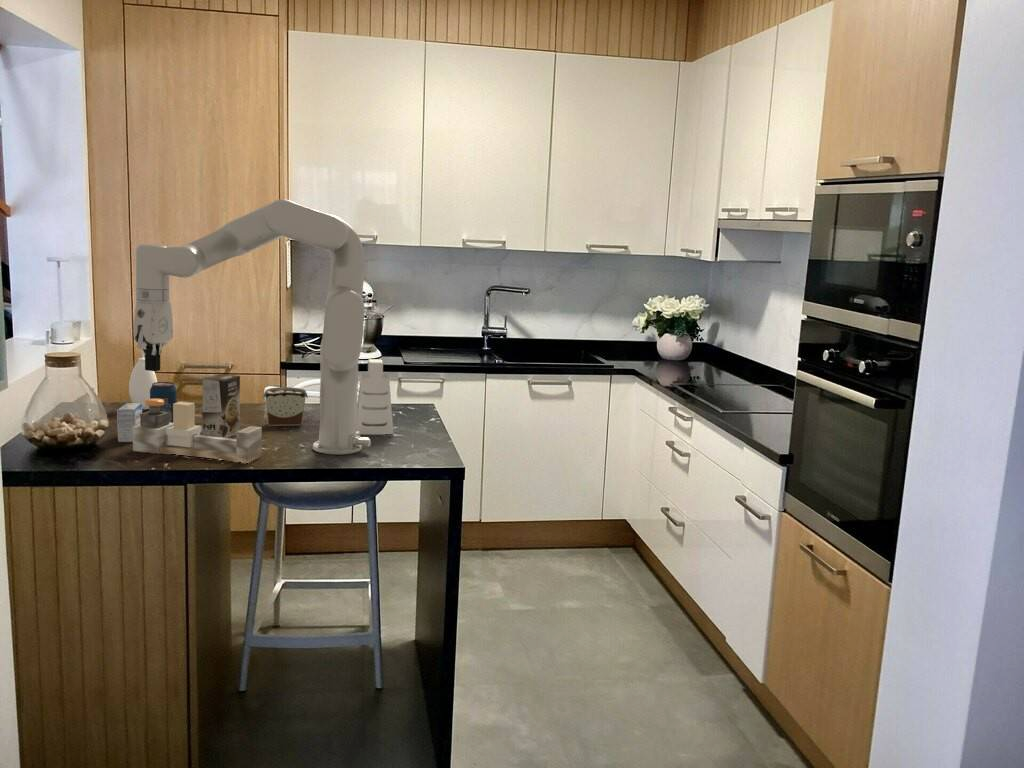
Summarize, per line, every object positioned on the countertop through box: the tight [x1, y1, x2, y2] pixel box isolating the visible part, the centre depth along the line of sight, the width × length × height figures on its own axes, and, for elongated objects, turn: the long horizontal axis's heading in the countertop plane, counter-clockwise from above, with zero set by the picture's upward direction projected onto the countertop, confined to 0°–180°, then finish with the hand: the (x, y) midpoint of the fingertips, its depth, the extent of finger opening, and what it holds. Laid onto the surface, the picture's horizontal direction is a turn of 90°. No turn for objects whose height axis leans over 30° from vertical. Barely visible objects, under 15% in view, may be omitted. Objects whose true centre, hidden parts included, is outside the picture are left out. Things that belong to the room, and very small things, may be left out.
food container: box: [262, 386, 308, 427], centre depth 262 cm, size 12×6×10 cm, turn 108°
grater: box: [356, 358, 394, 435], centre depth 259 cm, size 10×10×20 cm
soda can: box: [150, 381, 178, 423], centre depth 249 cm, size 7×7×12 cm
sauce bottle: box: [128, 349, 158, 410], centre depth 267 cm, size 8×8×18 cm
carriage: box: [166, 401, 202, 447], centre depth 225 cm, size 6×6×10 cm
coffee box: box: [201, 373, 241, 439], centre depth 242 cm, size 9×6×16 cm
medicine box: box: [116, 402, 143, 443], centre depth 235 cm, size 8×4×9 cm, turn 9°
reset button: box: [145, 399, 164, 415], centre depth 226 cm, size 4×4×4 cm
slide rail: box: [132, 410, 263, 464], centre depth 225 cm, size 30×8×9 cm, turn 78°
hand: (152, 370), depth 224 cm, fingers closed
